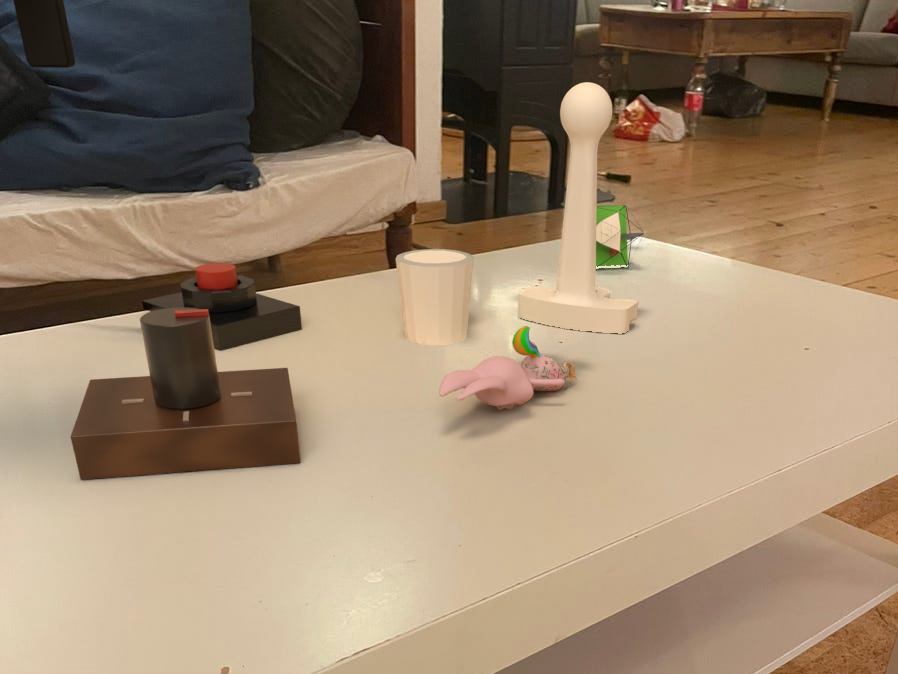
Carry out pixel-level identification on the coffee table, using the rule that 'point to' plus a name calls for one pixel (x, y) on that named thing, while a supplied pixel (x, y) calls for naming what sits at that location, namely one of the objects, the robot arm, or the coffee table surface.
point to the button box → (234, 312)
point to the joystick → (580, 230)
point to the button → (216, 276)
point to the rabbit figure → (509, 376)
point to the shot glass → (435, 295)
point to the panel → (185, 427)
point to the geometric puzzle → (613, 236)
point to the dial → (181, 357)
